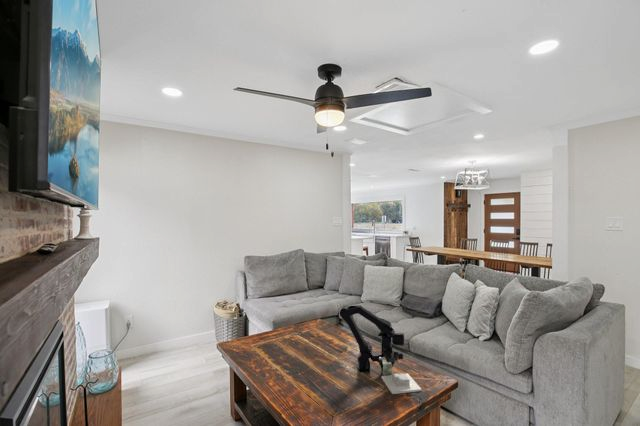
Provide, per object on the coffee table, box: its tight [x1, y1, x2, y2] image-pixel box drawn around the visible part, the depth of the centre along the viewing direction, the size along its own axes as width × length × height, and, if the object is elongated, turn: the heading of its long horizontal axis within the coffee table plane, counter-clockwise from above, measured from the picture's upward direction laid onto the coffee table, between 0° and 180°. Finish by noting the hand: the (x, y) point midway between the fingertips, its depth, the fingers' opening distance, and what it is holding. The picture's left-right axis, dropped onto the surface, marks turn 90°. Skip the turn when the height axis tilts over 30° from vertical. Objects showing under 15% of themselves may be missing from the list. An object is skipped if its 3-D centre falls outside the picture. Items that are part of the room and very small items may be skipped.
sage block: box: [380, 359, 393, 376], centre depth 184 cm, size 5×5×6 cm
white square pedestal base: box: [381, 372, 422, 395], centre depth 171 cm, size 16×16×4 cm
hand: (386, 370), depth 184 cm, fingers closed on sage block, 5 cm apart
